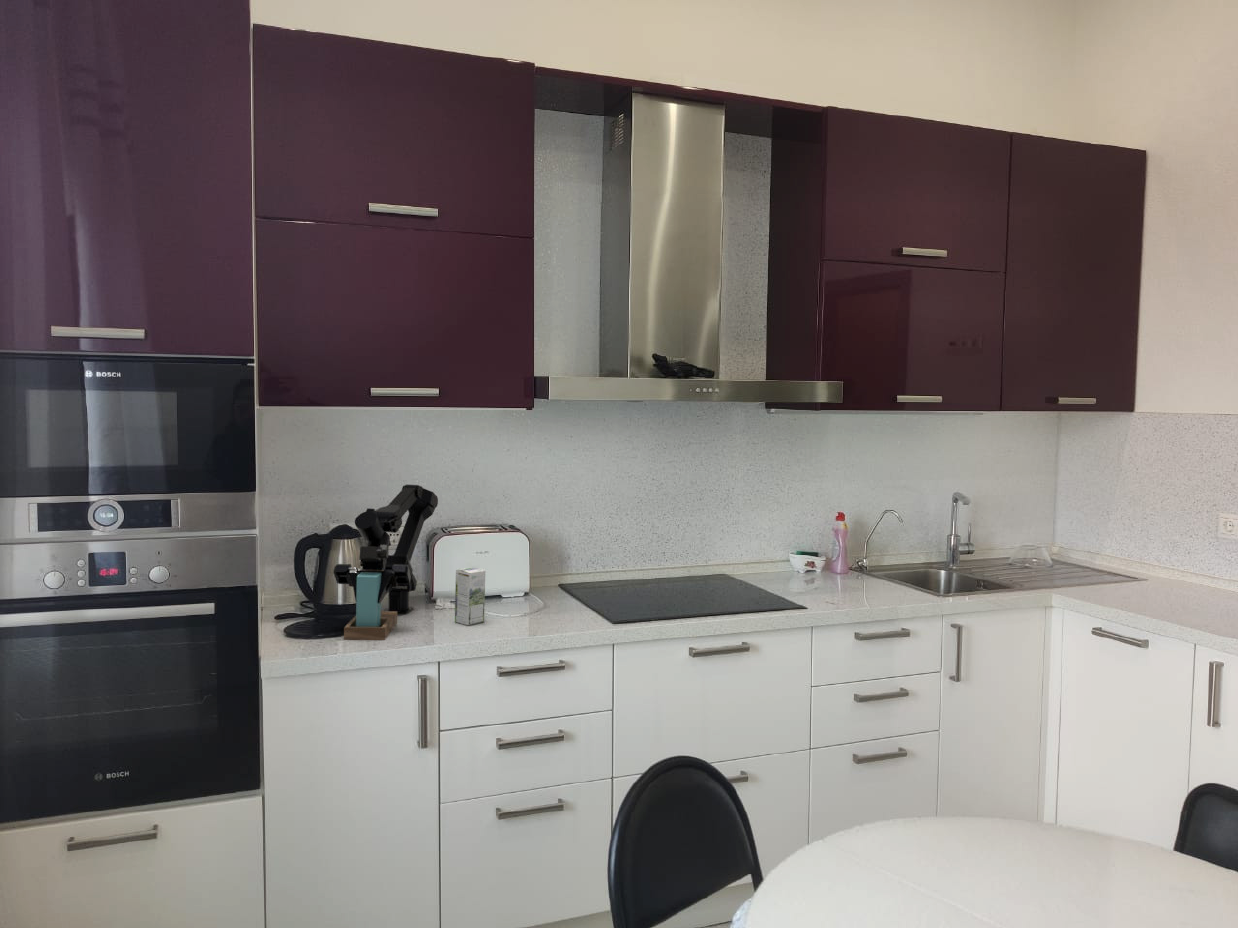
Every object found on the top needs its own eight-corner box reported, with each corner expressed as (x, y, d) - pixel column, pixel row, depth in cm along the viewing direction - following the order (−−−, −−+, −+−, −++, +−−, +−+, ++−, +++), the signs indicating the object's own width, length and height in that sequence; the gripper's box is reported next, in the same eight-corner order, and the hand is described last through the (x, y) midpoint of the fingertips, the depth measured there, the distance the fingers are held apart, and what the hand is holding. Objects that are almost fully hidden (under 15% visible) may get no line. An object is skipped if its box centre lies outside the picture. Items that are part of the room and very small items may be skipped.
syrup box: (470, 618, 254) (470, 566, 253) (485, 622, 250) (485, 569, 249) (454, 622, 250) (454, 569, 248) (469, 626, 246) (469, 572, 245)
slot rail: (359, 622, 248) (359, 611, 247) (397, 622, 248) (397, 611, 248) (344, 639, 231) (344, 627, 230) (384, 639, 231) (384, 627, 231)
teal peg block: (361, 625, 238) (361, 571, 237) (380, 625, 239) (381, 572, 237) (355, 630, 233) (356, 576, 232) (375, 631, 234) (376, 577, 232)
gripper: (335, 532, 237) (323, 584, 227) (408, 533, 238) (400, 585, 228) (342, 557, 246) (332, 608, 236) (413, 558, 247) (406, 609, 237)
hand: (367, 602), depth 234 cm, fingers closed on teal peg block, 5 cm apart
